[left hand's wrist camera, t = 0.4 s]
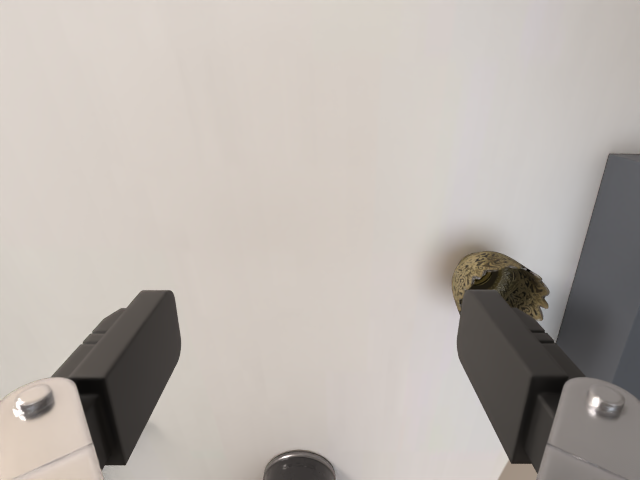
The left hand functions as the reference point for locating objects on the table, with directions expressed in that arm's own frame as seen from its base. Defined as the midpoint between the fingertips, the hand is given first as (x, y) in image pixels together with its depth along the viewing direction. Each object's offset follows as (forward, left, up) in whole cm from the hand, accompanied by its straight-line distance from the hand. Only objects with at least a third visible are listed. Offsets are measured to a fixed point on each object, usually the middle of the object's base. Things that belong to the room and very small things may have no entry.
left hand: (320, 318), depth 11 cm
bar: (-13, -29, -28) cm, 43 cm away
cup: (-12, -16, -28) cm, 35 cm away
